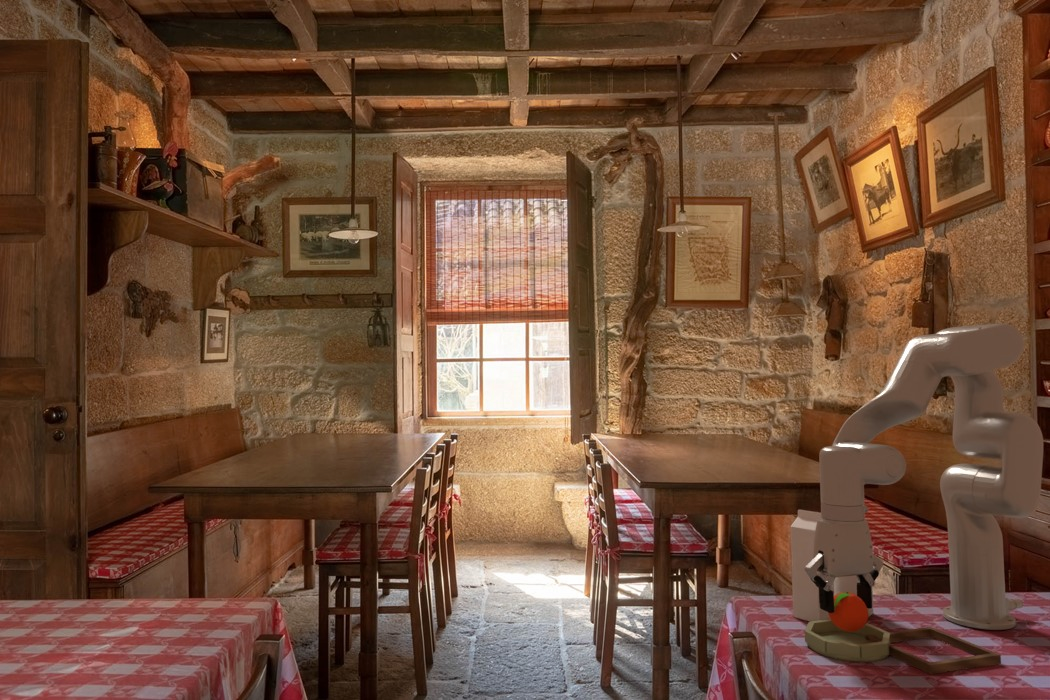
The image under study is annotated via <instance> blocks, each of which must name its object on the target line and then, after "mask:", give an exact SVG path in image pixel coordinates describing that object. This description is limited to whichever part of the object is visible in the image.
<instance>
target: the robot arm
mask: <svg viewBox="0 0 1050 700" xmlns="http://www.w3.org/2000/svg"><path fill="white" fill-rule="evenodd" d="M1024 342H1025V341H1024V337H1023V336H1022V333H1021V332H1020V331H1019V330H1018V328H1016V327H1014V326H1013V325H1011V324H1008V323H1004V322H1002V323H987V324H977V325H976V324H975V325H963V326H962V325H961V326H954V327H947V328H944V329H941V330H939V331H937V332H936V333H932V334H923V335H918V336H915V337H913V338H911V339H910V340H909V341H908V342H907V343H906V344H905V346H904V347H903V349H902V351H901V353H900V355H899V357H898V359H897V361H896V362H895V364H894V367H893V369H892V370H891V372H890V373H889V376H888V378H887V380H886V382H885V383H884V386H883V387H882V389H881V391H880V393H878V394H877V395H876V396H874V397H873V398H871V399H870V400H869V401H867V402H866V403H864V405H862V406H861V407H859V409H857V410H856V411H855V412H853V413H852V414H851V415H850V416H849V417H848V418H847V419H846V420H845V422H844V423H843V424H842V426H841V427H840V428H839V429H840V430H839V431H838V432H837V434H836V437H835V438H834V440H833V442H832V444H831V445H830V446H824V447H822V448H821V449H820V450H819V454H818V455H819V459H818V460H819V462H818V463H819V487H820V488H819V489H820V513H821V519H819V520H818V521H817V524H816V530H815V537H814V553H813V560H812V561H811V562H810V563H809V564H808V565H807V566H806V567H805V571H806V573H807V574H808V576H809V577H810V579H811V580H812V581H813V582H814V583H815V585H816V587H818V588H819V604H820V608H821V609H822V610H824V611H827V612H829V613H833V612H834V592H833V591H831V590H830V589H831V587H832V585H833V582H834V580H835V578H836V577H844V576H854V575H856V576H857V578H858V580H859V581H860V583H857V596H858V597H859V598H861V599H862V600H863V602H864V603H865V605H866V607H867V608H868V609H870V608H872V590H873V587H874V586H875V584H876V583H875V582H876V579H877V578H878V577H879V576H880V572H881V571H882V570H881V569H882V568H883V566H884V561H883V560H881V558H879V557H878V556H877V555H875V554H874V551H873V541H872V537H871V530H870V526H869V523H868V520H866V513H868V511H869V507H868V506H867V505H865V485H869V484H870V485H880V486H886V485H887V486H888V485H889V486H890V485H893V484H895V483H898V482H899V481H900V480H901V479H902V478H903V476H905V474H906V471H907V461H906V459H905V456H904V455H903V454H902V452H901V451H900V450H898V449H897V448H895V447H893V446H891V445H886V444H878V443H871V442H872V441H873V439H874V438H876V437H877V436H878V435H879V434H881V433H883V432H885V431H887V430H888V429H890V428H893V427H895V426H898V425H903V424H905V423H907V422H909V421H910V422H911V421H912V420H915V419H917V418H919V417H921V416H922V415H923V414H925V413H926V411H927V410H928V407H929V405H930V403H931V400H932V398H933V396H934V394H935V392H936V390H937V388H938V386H939V384H940V383H941V381H942V379H943V378H945V377H950V378H951V380H952V382H953V386H954V397H955V398H954V408H953V409H954V411H953V423H952V443H953V447H954V448H955V450H956V451H957V452H958V453H959V454H961V455H963V456H966V457H971V458H976V459H977V458H978V459H986V460H987V459H988V460H995V461H996V460H998V461H1001V466H996V465H995V466H993V465H986V464H978V463H977V464H976V463H957V464H953V465H950V466H949V467H947V468H946V469H945V470H944V471H943V472H942V475H941V476H940V482H939V489H940V493H941V498H942V501H943V506H944V510H945V515H946V522H947V538H948V539H947V540H948V541H947V542H948V543H947V545H948V563H949V586H950V588H949V589H950V605H948V606H946V607H944V608H942V616H943V617H944V618H945V619H946V620H948V621H949V622H952V623H955V624H956V625H957V624H958V625H960V626H963V627H968V628H974V629H978V630H979V629H980V630H989V631H990V630H991V631H1002V630H1010V629H1013V628H1015V627H1016V625H1017V623H1016V622H1017V620H1016V618H1015V617H1014V616H1013V615H1011V614H1010V612H1011V611H1012V610H1015V609H1016V610H1017V609H1022V608H1023V607H1024V602H1023V600H1022V599H1020V598H1019V597H1017V598H1011V599H1009V598H1007V597H1006V584H1005V583H1006V582H1005V563H1004V562H1005V561H1004V559H1005V558H1004V539H1003V538H1004V537H1003V532H1002V530H1001V527H1000V525H999V523H998V521H997V520H996V518H995V517H994V516H1000V517H1007V518H1012V519H1013V518H1014V519H1025V518H1028V517H1030V516H1032V515H1033V514H1035V512H1036V510H1037V508H1038V506H1039V503H1040V499H1041V491H1042V490H1041V489H1042V478H1043V477H1042V476H1043V461H1044V436H1043V433H1042V430H1041V427H1040V426H1039V424H1038V422H1037V421H1036V420H1035V419H1034V418H1033V417H1031V416H1029V415H1027V414H1024V413H1018V412H1004V388H1003V385H1002V382H1001V380H1000V379H999V377H998V375H996V373H995V372H994V371H996V370H999V369H1002V368H1003V369H1004V368H1007V367H1009V366H1012V365H1013V364H1015V363H1016V362H1017V361H1019V359H1020V358H1021V356H1022V355H1023V352H1024V349H1025V348H1024V346H1025V343H1024ZM817 571H818V572H820V574H819V575H818V573H817ZM826 577H827V579H826ZM825 579H826V581H825Z"/></svg>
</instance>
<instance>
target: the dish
mask: <svg viewBox="0 0 1050 700" xmlns="http://www.w3.org/2000/svg"><path fill="white" fill-rule="evenodd" d="M889 632H890V631H887V630H884V629H882V628H879V627H877V626H875V625H873V624H870V623H869V622H866V624H865V626H864V627H863V628H861V629H860V630H858V631H854V632H847V631H844V630H841V629H839V628H838V627H837V626H835V625H834V624H833V622H832V621H831V619H826V620H818V621H808V623H807V625H806V628H805V629H804V642H805V643H806V644H807V646H808V648H809V649H811V650H812V651H813V652H816V653H817V654H820V655H822V656H824V657H828V658H831V659H835V660H840V661H845V662H855V663H869V662H870V663H872V662H877V661H878V662H879V661H883V660H885V659H887V658H888V657H889V656H890V655H889V645H890V644H891V643H890V633H889ZM866 635H874V636H876V638H878V639H880V640H882V642H875V643H873V642H871V641H869V640H866Z"/></svg>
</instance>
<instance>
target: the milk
mask: <svg viewBox="0 0 1050 700" xmlns="http://www.w3.org/2000/svg"><path fill="white" fill-rule="evenodd" d="M819 519H821V512H818V511H811V510H806V509H805V510H804V509H798V510H797V517H796V518H795V520H794V521H793V522H792V524H791V525H790V529H789V530H790V555H791V582H792V583H791V584H792V585H791V586H792V615H793V616H792V617H793V618H796V619H800V620H803V621H807V622H810V621H818V620H826V619H830V617H829V615H828V612H827V611H824V610H822V609H821V608H820V604H819V588H818V587H816V585H815V583H814V582H813V581H812V580H811V579H810V577H809V576H808V574H807V573H806V571H805V567H806V566H807V565H808V564H809V563H810V562H811V561H812V560H813V553H814V537H815V530H816V524H817V521H818V520H819ZM817 573H818V575H819V574H820V572H818V571H817ZM826 579H827V577H826ZM826 579H825V581H826ZM830 590H831V591H833V592H834V582H833V585H832V587H831V589H830Z"/></svg>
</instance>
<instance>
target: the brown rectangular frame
mask: <svg viewBox="0 0 1050 700" xmlns="http://www.w3.org/2000/svg"><path fill="white" fill-rule="evenodd" d="M888 632H889V633H890V645H889V656H891V657H893V658H895V659H897V660H899V661H902V662H903V663H906V664H908V665H910V666H912V667H914V668H916V669H918V670H920V671H923V672H925V673H927V674H929V675H936V674H942V673H948V672H947V671H950V672H955V671H954V670H956V671H960V670H959V669H963V670H967V669H966V668H969V669H974V667H976V668H981V666H982V667H987V666H994V665H999V664H1000V665H1001V663H1002V660H1001V659H1002V658H1001V657H1002V655H1001V654H999V653H997V652H995V651H992V650H989V649H987V648H985V647H982V646H980V645H978V644H975V643H972V642H970V641H967V640H964V639H962V638H960V637H957V636H954V635H952V634H949V633H948V632H944V631H943V630H940V629H938V628H934V627H932V626H927V627H926V626H925V627H919V628H912V629H904V630H895V631H888ZM926 637H927V638H932V639H934V638H935V639H934V640H937V641H939V640H940V642H942V641H943V642H942V643H944V642H945V643H944V644H947V643H948V644H947V645H949V644H950V645H949V646H951V645H953V646H952V647H954V646H955V647H954V648H956V647H957V648H956V649H959V648H960V649H959V650H961V649H962V650H961V651H963V650H964V651H963V652H966V651H967V653H968V652H969V654H970V656H963V657H958V658H949V659H945V660H937V661H932V662H931V661H928V660H925V659H924V658H921V657H919V656H917V655H915V654H914V653H911V652H909V651H906V650H904V649H902V648H900V647H897V646H895V645H893V644H891V643H896V642H897V643H898V642H904V641H903V640H905V641H911V639H912V640H918V639H919V638H920V639H925V638H926ZM920 639H919V640H920ZM866 640H869V641H871V642H873V643H875V642H882V640H880V639H878V638H876V636H874V635H866ZM975 655H976V656H975ZM972 667H973V668H972Z"/></svg>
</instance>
